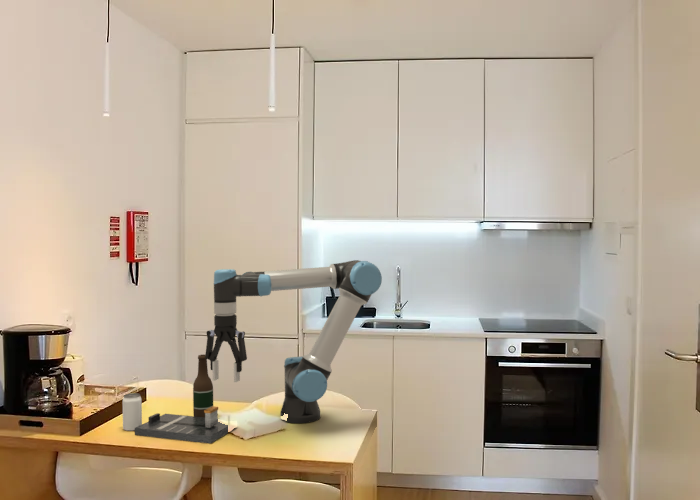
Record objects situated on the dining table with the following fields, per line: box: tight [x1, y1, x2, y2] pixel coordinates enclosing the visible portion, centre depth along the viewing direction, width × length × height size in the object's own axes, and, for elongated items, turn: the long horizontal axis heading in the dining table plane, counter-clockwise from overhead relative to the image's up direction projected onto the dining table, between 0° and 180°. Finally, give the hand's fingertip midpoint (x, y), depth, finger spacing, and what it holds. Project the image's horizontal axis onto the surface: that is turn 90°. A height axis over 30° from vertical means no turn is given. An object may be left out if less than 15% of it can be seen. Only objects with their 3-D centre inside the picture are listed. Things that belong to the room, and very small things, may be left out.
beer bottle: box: [192, 354, 214, 417], centre depth 235 cm, size 8×8×24 cm
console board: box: [134, 412, 229, 445], centre depth 220 cm, size 30×18×4 cm, turn 71°
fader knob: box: [204, 405, 219, 428], centre depth 217 cm, size 2×5×6 cm, turn 161°
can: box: [122, 392, 143, 432], centre depth 224 cm, size 6×6×12 cm
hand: (226, 380), depth 215 cm, fingers open, 8 cm apart
